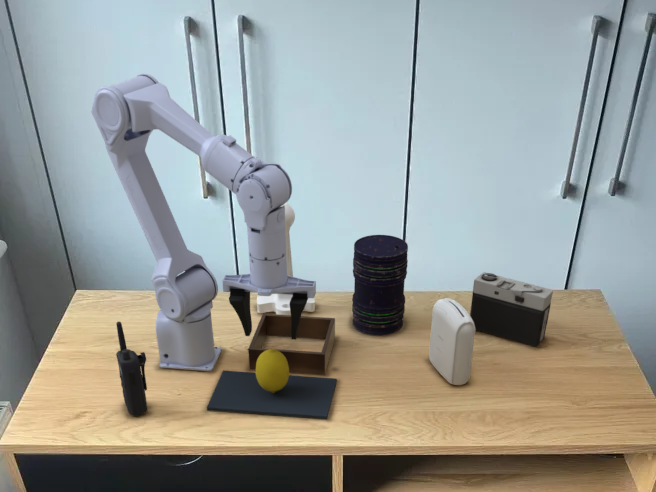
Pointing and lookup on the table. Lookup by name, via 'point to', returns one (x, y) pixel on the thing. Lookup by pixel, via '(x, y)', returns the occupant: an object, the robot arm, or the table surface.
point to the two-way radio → (132, 376)
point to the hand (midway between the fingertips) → (271, 335)
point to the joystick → (282, 301)
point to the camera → (510, 308)
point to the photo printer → (452, 341)
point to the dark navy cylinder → (379, 284)
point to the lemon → (272, 370)
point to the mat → (273, 396)
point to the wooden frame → (307, 329)
